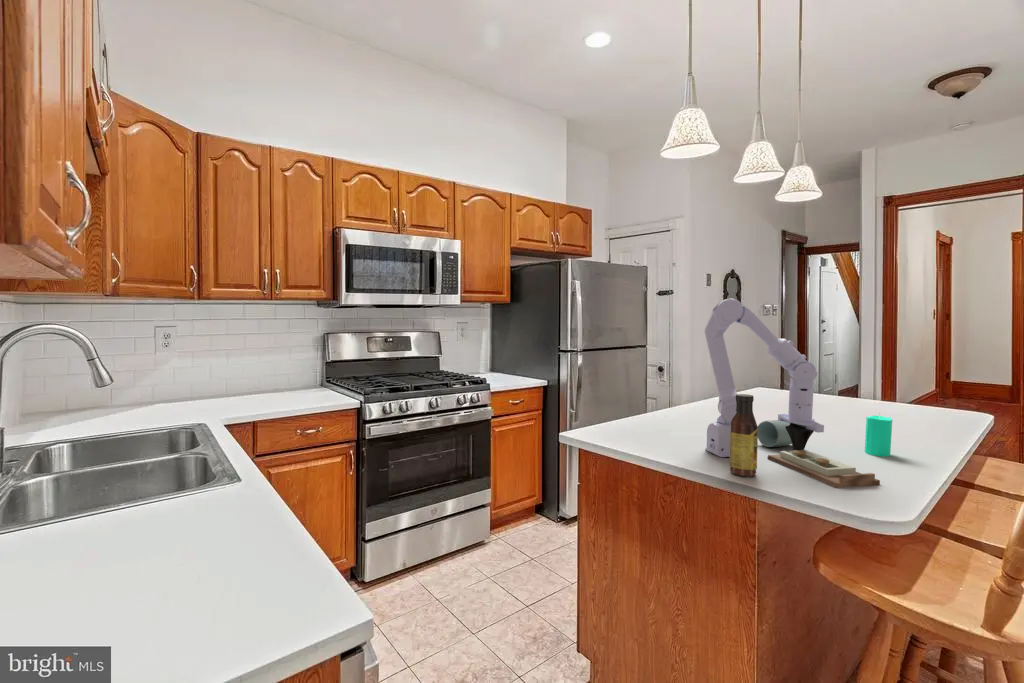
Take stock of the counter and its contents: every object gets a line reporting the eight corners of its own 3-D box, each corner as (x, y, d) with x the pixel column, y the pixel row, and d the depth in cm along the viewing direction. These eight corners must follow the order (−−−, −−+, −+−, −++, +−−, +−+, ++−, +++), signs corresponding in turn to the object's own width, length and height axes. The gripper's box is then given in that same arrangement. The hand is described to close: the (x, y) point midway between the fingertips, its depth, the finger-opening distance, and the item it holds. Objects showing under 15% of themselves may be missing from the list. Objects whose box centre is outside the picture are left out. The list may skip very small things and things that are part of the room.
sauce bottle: (759, 478, 123) (762, 397, 122) (732, 476, 124) (735, 396, 123) (752, 470, 129) (755, 393, 128) (726, 468, 130) (729, 392, 129)
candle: (881, 451, 148) (884, 410, 147) (895, 457, 142) (897, 414, 141) (860, 450, 148) (862, 410, 148) (872, 456, 142) (874, 414, 142)
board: (836, 487, 117) (837, 472, 117) (767, 458, 139) (768, 445, 139) (879, 484, 119) (880, 469, 119) (805, 456, 142) (805, 443, 141)
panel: (827, 476, 122) (827, 469, 122) (780, 456, 137) (780, 451, 137) (855, 474, 123) (855, 467, 123) (805, 455, 139) (805, 449, 139)
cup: (795, 416, 153) (771, 416, 149) (806, 440, 150) (782, 442, 146) (775, 425, 159) (752, 426, 155) (785, 448, 156) (762, 450, 152)
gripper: (834, 408, 132) (832, 458, 133) (793, 398, 147) (791, 444, 147) (811, 409, 131) (809, 460, 132) (772, 399, 145) (770, 445, 146)
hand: (798, 452), depth 140 cm, fingers closed
